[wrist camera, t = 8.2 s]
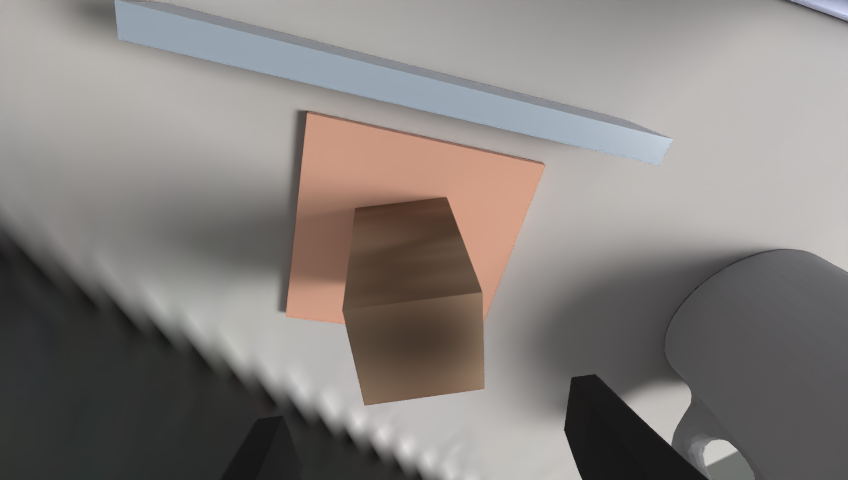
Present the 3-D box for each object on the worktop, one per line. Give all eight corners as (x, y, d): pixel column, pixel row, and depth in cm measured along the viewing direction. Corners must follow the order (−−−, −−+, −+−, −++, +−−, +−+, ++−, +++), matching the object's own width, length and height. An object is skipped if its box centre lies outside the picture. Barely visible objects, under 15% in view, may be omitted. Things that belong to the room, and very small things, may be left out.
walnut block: (446, 197, 18) (482, 292, 11) (451, 273, 20) (484, 388, 13) (355, 207, 17) (342, 310, 11) (369, 283, 19) (364, 405, 13)
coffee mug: (805, 213, 20) (1124, 359, 12) (852, 318, 24) (1114, 484, 16) (584, 359, 24) (701, 554, 15) (657, 429, 28) (783, 614, 19)
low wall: (627, 120, 17) (672, 139, 15) (617, 143, 18) (658, 165, 15) (165, 2, 14) (114, -1, 11) (166, 35, 14) (118, 39, 11)
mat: (542, 162, 18) (545, 165, 17) (475, 335, 22) (476, 340, 22) (308, 110, 16) (307, 113, 15) (287, 311, 20) (285, 317, 20)
